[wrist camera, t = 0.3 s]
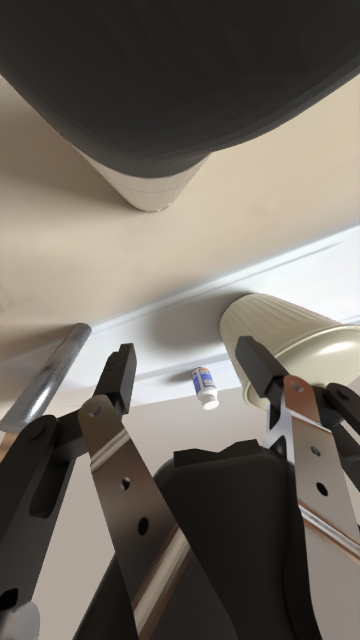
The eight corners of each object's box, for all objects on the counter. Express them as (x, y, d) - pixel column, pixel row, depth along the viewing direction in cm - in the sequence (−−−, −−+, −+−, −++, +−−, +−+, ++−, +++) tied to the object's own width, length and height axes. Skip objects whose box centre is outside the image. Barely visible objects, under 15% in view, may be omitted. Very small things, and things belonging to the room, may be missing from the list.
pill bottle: (196, 380, 45) (205, 413, 37) (188, 372, 42) (196, 406, 34) (211, 372, 44) (224, 405, 36) (204, 363, 41) (216, 397, 33)
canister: (230, 354, 41) (287, 450, 23) (191, 318, 32) (238, 431, 14) (289, 315, 36) (419, 399, 18) (264, 259, 27) (471, 320, 9)
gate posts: (77, 320, 28) (0, 418, 14) (94, 327, 29) (38, 422, 15) (39, 392, 37) (-32, 495, 23) (52, 394, 38) (-6, 493, 24)
